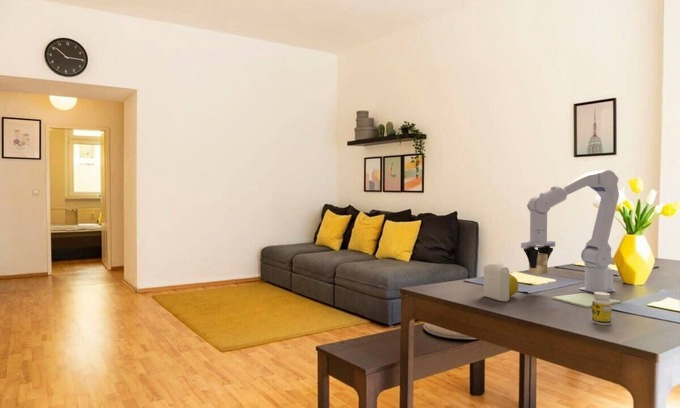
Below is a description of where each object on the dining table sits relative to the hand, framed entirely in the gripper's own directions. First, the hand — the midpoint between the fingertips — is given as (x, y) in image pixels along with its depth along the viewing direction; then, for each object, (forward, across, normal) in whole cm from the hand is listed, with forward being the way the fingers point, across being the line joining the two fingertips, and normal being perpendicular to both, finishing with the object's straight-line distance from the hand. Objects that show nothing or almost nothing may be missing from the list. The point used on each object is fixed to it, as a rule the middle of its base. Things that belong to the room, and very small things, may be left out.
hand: (538, 267), depth 180 cm
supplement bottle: (+9, +15, +38) cm, 42 cm away
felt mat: (+9, -4, +17) cm, 20 cm away
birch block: (+2, 0, 0) cm, 2 cm away
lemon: (+9, +15, +2) cm, 18 cm away
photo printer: (+9, +21, +2) cm, 23 cm away
